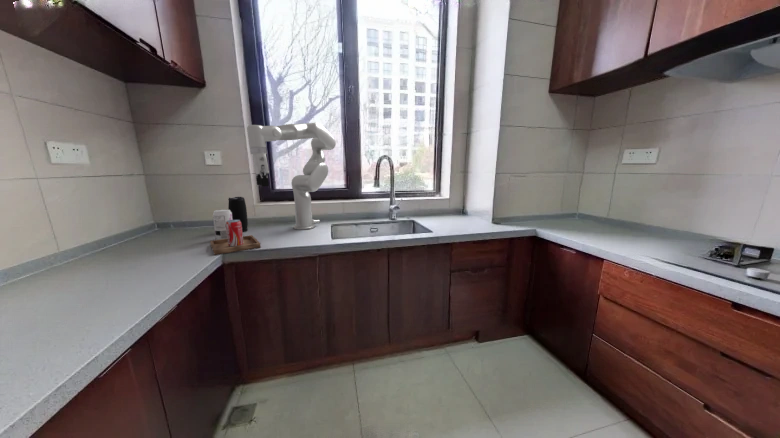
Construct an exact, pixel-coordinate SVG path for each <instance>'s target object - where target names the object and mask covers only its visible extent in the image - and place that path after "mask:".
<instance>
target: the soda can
mask: <svg viewBox="0 0 780 438" xmlns="http://www.w3.org/2000/svg"><path fill="white" fill-rule="evenodd" d="M226 231H227V239H228V245H229V246H230V247H235V246H241V245H243V244H244V243H243V236H244V235H243V231H242V224H241V222H240V220H228V221H227V222H226Z"/></svg>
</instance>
